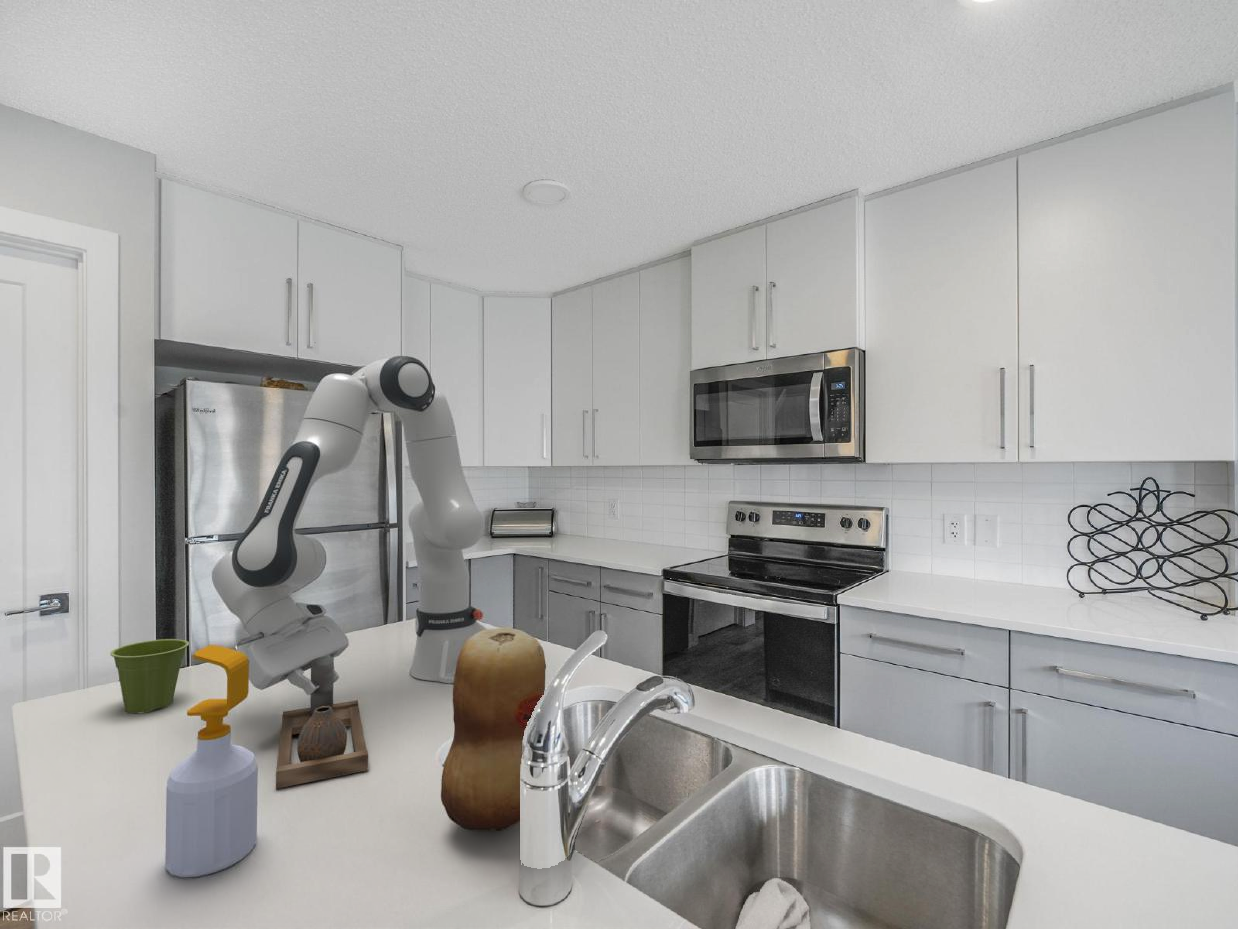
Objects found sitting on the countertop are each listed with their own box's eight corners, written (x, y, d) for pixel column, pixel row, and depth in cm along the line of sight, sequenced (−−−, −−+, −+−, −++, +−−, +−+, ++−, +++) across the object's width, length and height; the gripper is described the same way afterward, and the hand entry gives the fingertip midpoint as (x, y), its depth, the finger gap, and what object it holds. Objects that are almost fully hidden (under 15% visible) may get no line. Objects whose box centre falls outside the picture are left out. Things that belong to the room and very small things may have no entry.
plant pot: (190, 708, 114) (191, 649, 114) (108, 725, 106) (109, 661, 106) (185, 690, 123) (186, 634, 123) (109, 704, 115) (110, 645, 115)
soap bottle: (195, 832, 76) (198, 638, 76) (270, 829, 77) (273, 637, 77) (145, 881, 67) (149, 661, 67) (231, 878, 68) (234, 660, 68)
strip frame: (357, 713, 112) (358, 649, 112) (367, 770, 91) (369, 692, 91) (282, 725, 106) (283, 658, 106) (275, 788, 86) (277, 706, 86)
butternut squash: (497, 871, 69) (500, 655, 69) (418, 833, 76) (421, 636, 76) (568, 813, 81) (570, 628, 81) (494, 784, 88) (496, 614, 88)
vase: (355, 755, 96) (355, 701, 96) (331, 778, 89) (332, 719, 89) (313, 753, 97) (314, 699, 97) (286, 775, 90) (287, 717, 90)
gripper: (240, 630, 98) (291, 697, 95) (328, 603, 117) (371, 657, 115) (217, 655, 99) (266, 722, 96) (308, 624, 118) (351, 678, 116)
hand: (324, 686), depth 106 cm, fingers open, 4 cm apart
